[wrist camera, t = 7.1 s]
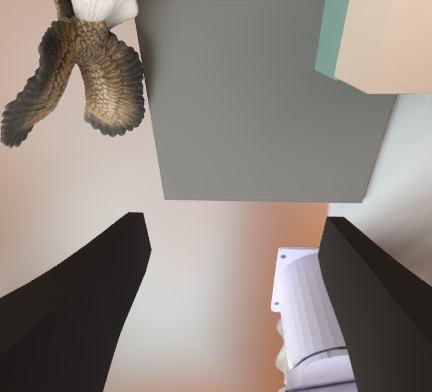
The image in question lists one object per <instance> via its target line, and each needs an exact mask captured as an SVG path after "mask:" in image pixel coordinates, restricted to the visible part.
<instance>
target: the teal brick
mask: <svg viewBox="0 0 432 392" xmlns="http://www.w3.org/2000/svg"><path fill="white" fill-rule="evenodd" d="M348 4H349V0H325V5H324V12H323V18H322V25H321V31H320V38H319V44H318V51H317V57H316V64H315V70H317V71H319V72H320V73H322V74H324V75H326V76H328V77H330V78H332V79H333V80H340V79H338V78H336V77H334V74H335V69H336V64H337V59H338V54H339V49H340V44H341V39H342V34H343V29H344V24H345V19H346V14H347V9H348Z"/></svg>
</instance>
